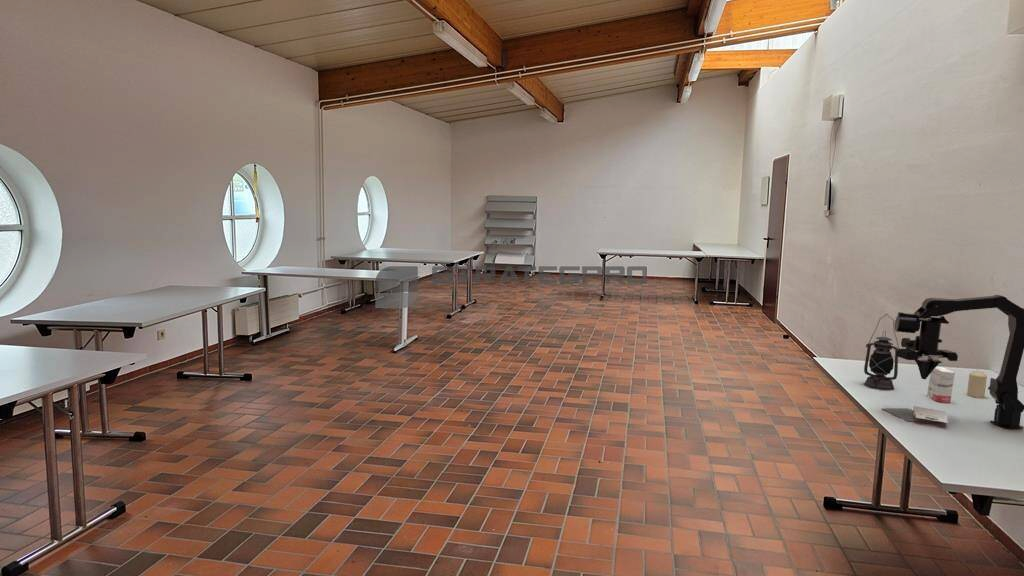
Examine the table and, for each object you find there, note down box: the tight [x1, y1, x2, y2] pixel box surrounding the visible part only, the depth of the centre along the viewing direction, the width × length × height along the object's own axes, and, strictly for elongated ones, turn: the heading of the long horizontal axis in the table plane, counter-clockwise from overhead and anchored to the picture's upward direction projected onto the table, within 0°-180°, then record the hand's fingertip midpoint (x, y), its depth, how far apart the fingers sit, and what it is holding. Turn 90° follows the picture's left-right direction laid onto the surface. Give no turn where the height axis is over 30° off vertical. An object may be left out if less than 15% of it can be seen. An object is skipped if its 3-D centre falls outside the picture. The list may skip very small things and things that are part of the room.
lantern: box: [863, 313, 900, 391], centre depth 250 cm, size 12×11×30 cm
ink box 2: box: [913, 405, 949, 424], centre depth 210 cm, size 3×9×12 cm
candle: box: [966, 370, 988, 399], centre depth 242 cm, size 6×6×10 cm
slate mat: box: [881, 407, 937, 423], centre depth 216 cm, size 13×10×1 cm
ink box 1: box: [926, 366, 956, 404], centre depth 236 cm, size 9×5×12 cm, turn 168°
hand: (923, 379), depth 215 cm, fingers closed
